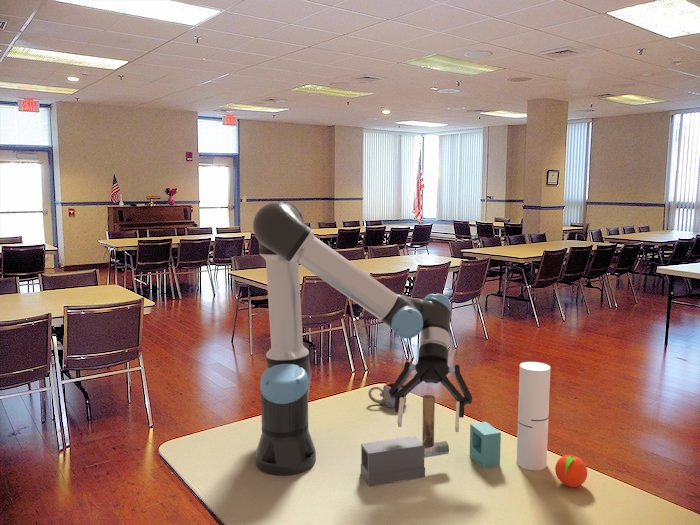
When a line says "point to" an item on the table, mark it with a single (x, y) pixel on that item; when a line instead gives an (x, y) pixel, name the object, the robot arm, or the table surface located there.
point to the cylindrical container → (533, 415)
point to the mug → (385, 396)
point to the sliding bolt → (431, 430)
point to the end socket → (485, 444)
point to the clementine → (571, 471)
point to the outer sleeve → (392, 460)
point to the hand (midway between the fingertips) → (427, 427)
